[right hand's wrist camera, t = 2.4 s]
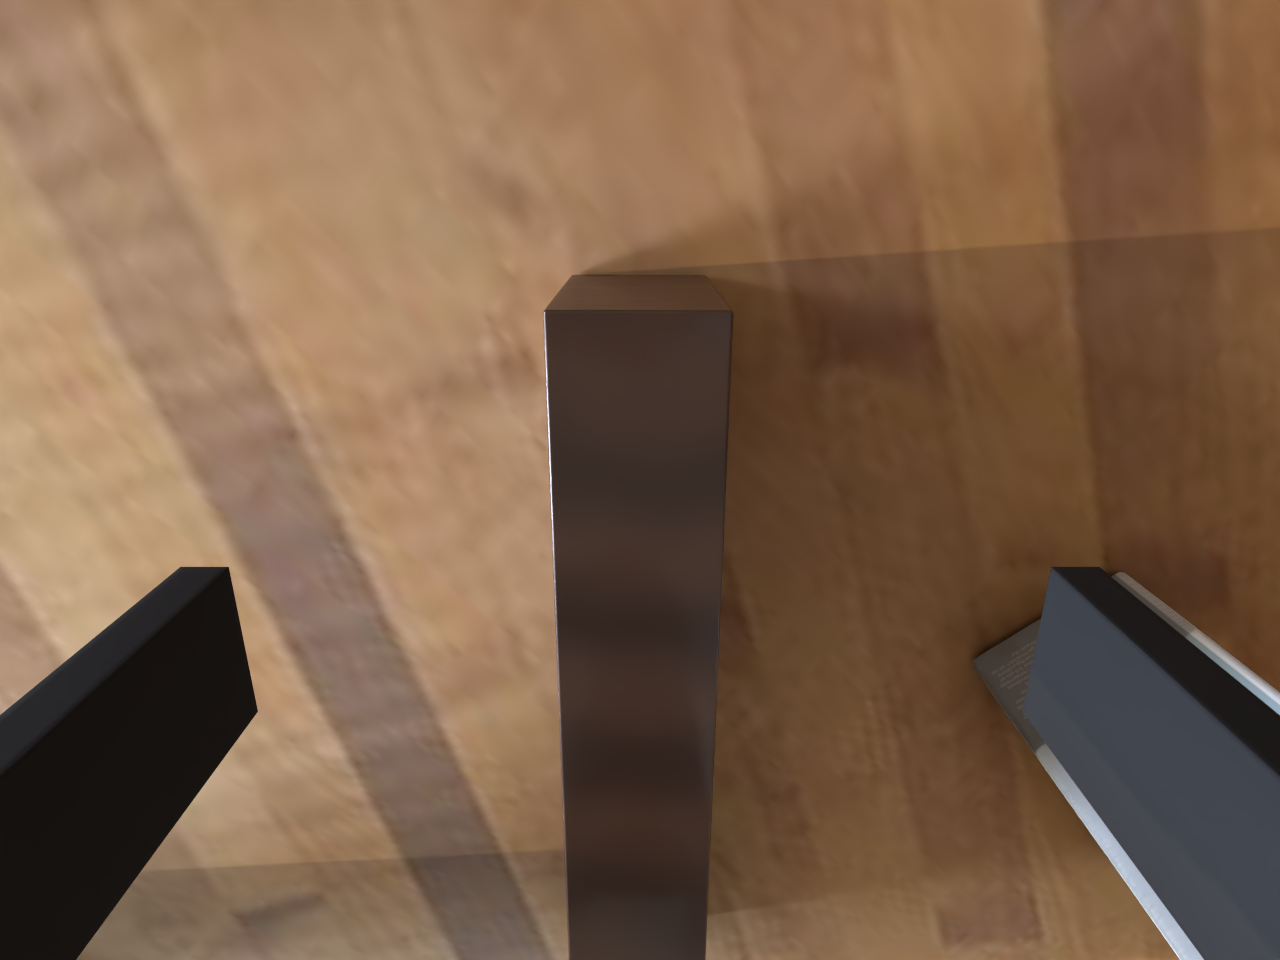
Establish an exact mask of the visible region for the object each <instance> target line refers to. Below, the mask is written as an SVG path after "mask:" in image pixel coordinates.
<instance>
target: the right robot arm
mask: <svg viewBox="0 0 1280 960" xmlns="http://www.w3.org/2000/svg"><path fill="white" fill-rule="evenodd" d="M257 712H258V710H257V705H256V700H255V695H254V690H253V685H252V681H251V676H250V671H249V666H248V661H247V656H246V651H245V646H244V641H243V636H242V631H241V626H240V621H239V616H238V611H237V606H236V601H235V596H234V591H233V586H232V581H231V577H230V572H229V567H180V568H179V569H178V570H176V571H175V572H174V573H173V574H172V575H170V576H169V577H168V578H167V579H165V580H164V581H163V582H162V583H161V584H159V585H158V586H157V587H156V588H154V589H153V590H152V591H151V592H150V593H148V594H147V595H146V596H145V597H144V598H142V599H141V600H140V601H139V602H137V603H136V604H135V605H134V606H133V607H131V608H130V609H129V610H128V611H126V612H125V613H124V614H123V615H122V616H120V617H119V618H118V619H117V620H116V621H114V622H113V623H112V624H111V625H109V626H108V627H107V628H106V629H105V630H103V631H102V632H101V633H100V634H98V635H97V636H96V637H95V638H94V639H92V640H91V641H90V642H89V643H88V644H86V645H85V646H84V647H83V648H81V649H80V650H79V651H78V652H77V653H75V654H74V655H73V656H72V657H70V658H69V659H68V660H67V661H66V662H64V663H63V664H62V665H61V666H60V667H58V668H57V669H56V670H55V671H53V672H52V673H51V674H50V675H49V676H47V677H46V678H45V679H44V680H42V681H41V682H40V683H39V684H38V685H36V686H35V687H34V688H33V689H32V690H30V691H29V692H28V693H27V694H25V695H24V696H23V697H22V698H21V699H19V700H18V701H17V702H16V703H14V704H13V705H12V706H11V707H10V708H8V709H7V710H6V711H5V712H4V713H2V714H1V715H0V960H76V959H77V958H78V956H79V955H80V954H81V952H82V951H83V949H84V948H85V947H86V945H87V944H88V943H89V941H90V940H91V939H92V937H93V936H94V934H95V933H96V932H97V930H98V929H99V928H100V926H101V925H102V923H103V922H104V921H105V919H106V918H107V917H108V915H109V914H110V913H111V911H112V910H113V908H114V907H115V906H116V904H117V903H118V902H119V900H120V899H121V898H122V896H123V895H124V893H125V892H126V891H127V889H128V888H129V887H130V885H131V884H132V883H133V881H134V880H135V878H136V877H137V876H138V874H139V873H140V872H141V870H142V869H143V868H144V866H145V865H146V863H147V862H148V861H149V859H150V858H151V857H152V855H153V854H154V852H155V851H156V850H157V848H158V847H159V846H160V844H161V843H162V842H163V840H164V839H165V837H166V836H167V835H168V833H169V832H170V831H171V829H172V828H173V827H174V825H175V824H176V822H177V821H178V820H179V818H180V817H181V816H182V814H183V813H184V812H185V810H186V809H187V807H188V806H189V805H190V803H191V802H192V801H193V799H194V798H195V797H196V795H197V794H198V792H199V791H200V790H201V788H202V787H203V786H204V784H205V783H206V781H207V780H208V779H209V777H210V776H211V775H212V773H213V772H214V771H215V769H216V768H217V766H218V765H219V764H220V762H221V761H222V760H223V758H224V757H225V756H226V754H227V753H228V751H229V750H230V749H231V747H232V746H233V745H234V743H235V742H236V741H237V739H238V738H239V736H240V735H241V734H242V732H243V731H244V730H245V728H246V727H247V726H248V724H249V723H250V721H251V720H252V719H253V717H254V716H255V715H256V713H257ZM1022 712H1023V713H1024V715H1025V716H1026V717H1027V719H1028V720H1029V721H1030V723H1031V724H1032V726H1033V727H1034V728H1035V730H1036V731H1037V732H1038V734H1039V735H1040V736H1041V738H1042V739H1043V741H1044V742H1045V743H1046V745H1047V746H1048V747H1049V749H1050V750H1051V751H1052V753H1053V754H1054V756H1055V757H1056V758H1057V760H1058V761H1059V762H1060V764H1061V765H1062V766H1063V768H1064V769H1065V771H1066V772H1067V773H1068V775H1069V776H1070V777H1071V779H1072V780H1073V781H1074V783H1075V784H1076V786H1077V787H1078V788H1079V790H1080V791H1081V792H1082V794H1083V795H1084V797H1085V798H1086V799H1087V801H1088V802H1089V803H1090V805H1091V806H1092V807H1093V809H1094V810H1095V812H1096V813H1097V814H1098V816H1099V817H1100V818H1101V820H1102V821H1103V822H1104V824H1105V825H1106V827H1107V828H1108V829H1109V831H1110V832H1111V833H1112V835H1113V836H1114V837H1115V839H1116V840H1117V842H1118V843H1119V844H1120V846H1121V847H1122V848H1123V850H1124V851H1125V852H1126V854H1127V855H1128V857H1129V858H1130V859H1131V861H1132V862H1133V863H1134V865H1135V866H1136V868H1137V869H1138V870H1139V872H1140V873H1141V874H1142V876H1143V877H1144V878H1145V880H1146V881H1147V883H1148V884H1149V885H1150V887H1151V888H1152V889H1153V891H1154V892H1155V893H1156V895H1157V896H1158V898H1159V899H1160V900H1161V902H1162V903H1163V904H1164V906H1165V907H1166V908H1167V910H1168V911H1169V913H1170V914H1171V915H1172V917H1173V918H1174V919H1175V921H1176V922H1177V923H1178V925H1179V926H1180V928H1181V929H1182V930H1183V932H1184V933H1185V934H1186V936H1187V937H1188V939H1189V940H1190V941H1191V943H1192V944H1193V945H1194V947H1195V948H1196V949H1197V951H1198V952H1199V954H1200V955H1201V956H1202V958H1203V959H1204V960H1280V715H1279V714H1278V713H1276V712H1275V711H1274V710H1273V709H1272V708H1270V707H1269V706H1268V705H1267V704H1265V703H1264V702H1263V701H1262V700H1261V699H1259V698H1258V697H1257V696H1256V695H1255V694H1253V693H1252V692H1251V691H1250V690H1248V689H1247V688H1246V687H1245V686H1244V685H1242V684H1241V683H1240V682H1239V681H1238V680H1236V679H1235V678H1234V677H1233V676H1231V675H1230V674H1229V673H1228V672H1227V671H1225V670H1224V669H1223V668H1222V667H1220V666H1219V665H1218V664H1217V663H1216V662H1214V661H1213V660H1212V659H1211V658H1210V657H1208V656H1207V655H1206V654H1205V653H1203V652H1202V651H1201V650H1200V649H1199V648H1197V647H1196V646H1195V645H1194V644H1192V643H1191V642H1190V641H1189V640H1188V639H1186V638H1185V637H1184V636H1183V635H1182V634H1180V633H1179V632H1178V631H1177V630H1175V629H1174V628H1173V627H1172V626H1171V625H1169V624H1168V623H1167V622H1166V621H1164V620H1163V619H1162V618H1161V617H1160V616H1158V615H1157V614H1156V613H1155V612H1154V611H1152V610H1151V609H1150V608H1149V607H1147V606H1146V605H1145V604H1144V603H1143V602H1141V601H1140V600H1139V599H1138V598H1136V597H1135V596H1134V595H1133V594H1132V593H1130V592H1129V591H1128V590H1127V589H1126V588H1124V587H1123V586H1122V585H1121V584H1119V583H1118V582H1117V581H1116V580H1115V579H1113V578H1112V577H1111V576H1110V575H1108V574H1107V573H1106V572H1105V571H1104V570H1102V569H1101V568H1100V567H1051V572H1050V576H1049V581H1048V586H1047V591H1046V596H1045V601H1044V606H1043V611H1042V616H1041V621H1040V626H1039V631H1038V636H1037V641H1036V646H1035V651H1034V656H1033V661H1032V666H1031V671H1030V676H1029V681H1028V685H1027V690H1026V695H1025V700H1024V705H1023V710H1022Z"/></svg>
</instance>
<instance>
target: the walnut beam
mask: <svg viewBox="0 0 1280 960" xmlns="http://www.w3.org/2000/svg"><path fill="white" fill-rule="evenodd" d="M543 321H544V347H545V372H546V397H547V422H548V447H549V472H550V497H551V523H552V548H553V573H554V598H555V623H556V648H557V673H558V699H559V724H560V749H561V774H562V799H563V824H564V849H565V875H566V900H567V925H568V950H569V960H705V956H706V933H707V910H708V887H709V863H710V840H711V817H712V794H713V771H714V748H715V725H716V702H717V679H718V655H719V632H720V609H721V586H722V563H723V540H724V517H725V494H726V471H727V447H728V424H729V401H730V378H731V355H732V332H733V311H732V310H731V309H730V307H729V306H728V305H727V303H726V302H725V301H724V299H723V298H722V297H721V295H720V294H719V293H718V291H717V290H716V289H715V288H714V286H713V285H712V284H711V282H710V281H709V280H708V278H707V277H706V276H704V275H572V276H571V277H570V278H569V280H568V281H567V282H566V283H565V285H564V286H563V287H562V289H561V290H560V291H559V292H558V294H557V295H556V296H555V297H554V299H553V300H552V301H551V302H550V304H549V305H548V306H547V307H546V309H545V310H544V312H543Z"/></svg>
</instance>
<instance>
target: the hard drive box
mask: <svg viewBox="0 0 1280 960" xmlns="http://www.w3.org/2000/svg"><path fill="white" fill-rule="evenodd" d="M1111 577H1112V578H1113V579H1115V580H1116V581H1117V582H1118V583H1119V584H1121V585H1122V586H1123V587H1124V588H1126V589H1127V590H1128V591H1129V592H1130V593H1132V594H1133V595H1134V596H1135V597H1136V598H1138V599H1139V600H1140V601H1141V602H1143V603H1144V604H1145V605H1146V606H1147V607H1149V608H1150V609H1151V610H1152V611H1154V612H1155V613H1156V614H1157V615H1158V616H1160V617H1161V618H1162V619H1163V620H1164V621H1166V622H1167V623H1168V624H1169V625H1171V626H1172V627H1173V628H1174V629H1175V630H1177V631H1178V632H1179V633H1180V634H1182V635H1183V636H1184V637H1185V638H1186V639H1188V640H1189V641H1190V642H1191V643H1192V644H1194V645H1195V646H1196V647H1197V648H1199V649H1200V650H1201V651H1202V652H1203V653H1205V654H1206V655H1207V656H1208V657H1210V658H1211V659H1212V660H1213V661H1214V662H1216V663H1217V664H1218V665H1219V666H1220V667H1222V668H1223V669H1224V670H1225V671H1227V672H1228V673H1229V674H1230V675H1231V676H1233V677H1234V678H1235V679H1236V680H1238V681H1239V682H1240V683H1241V684H1242V685H1244V686H1245V687H1246V688H1247V689H1248V690H1250V691H1251V692H1252V693H1253V694H1255V695H1256V696H1257V697H1258V698H1259V699H1261V700H1262V701H1263V702H1264V703H1265V704H1267V705H1268V706H1269V707H1270V708H1272V709H1273V710H1274V711H1275V712H1276V713H1278V714H1279V715H1280V692H1279V691H1277V690H1276V689H1275V688H1273V687H1272V686H1271V685H1270V684H1268V683H1267V682H1266V681H1264V680H1263V679H1262V678H1261V677H1259V676H1258V675H1257V674H1255V673H1254V672H1253V671H1251V670H1250V669H1249V668H1248V667H1246V666H1245V665H1244V664H1242V663H1241V662H1240V661H1239V660H1237V659H1236V658H1235V657H1233V656H1232V655H1231V654H1230V653H1228V652H1227V651H1226V650H1224V649H1223V648H1222V647H1221V646H1219V645H1218V644H1217V643H1216V642H1214V641H1213V640H1212V639H1210V638H1209V637H1208V636H1206V635H1205V634H1204V633H1203V632H1201V631H1200V630H1199V629H1197V628H1196V627H1195V626H1193V625H1192V624H1191V623H1190V622H1188V621H1187V620H1186V619H1184V618H1183V617H1182V616H1180V615H1179V614H1178V613H1177V612H1175V611H1174V610H1173V609H1171V608H1170V607H1169V606H1167V605H1166V604H1165V603H1164V602H1162V601H1161V600H1160V599H1158V598H1157V597H1156V596H1154V595H1153V594H1152V593H1150V592H1149V591H1148V590H1146V589H1145V588H1144V587H1143V586H1141V585H1140V584H1139V583H1137V582H1136V581H1135V580H1134V579H1132V578H1131V577H1130V576H1128V575H1127V574H1125V573H1124V572H1118V573H1116V574H1114V575H1113V576H1111ZM1040 621H1041V619H1039V620H1037V621H1036V622H1034V623H1032V624H1031V625H1029V626H1027V627H1026V628H1024V629H1022V630H1021V631H1019V632H1017V633H1016V634H1014V635H1013V636H1011V637H1009V638H1008V639H1006V640H1005V641H1003V642H1001V643H1000V644H998V645H996V646H995V647H993V648H991V649H990V650H988V651H986V652H985V653H983V654H981V655H980V656H978V657H977V658H976V659H974V660H973V665H974V667H975V669H976V670H977V672H978V674H979V675H980V677H981V679H982V680H983V682H984V683H985V685H986V686H987V687H988V689H989V690H990V692H991V693H992V695H993V696H994V698H995V699H996V700H997V702H998V703H999V705H1000V706H1001V708H1002V709H1003V711H1004V712H1005V713H1006V715H1007V716H1008V718H1009V719H1010V720H1011V722H1012V723H1013V725H1014V726H1015V727H1016V729H1017V730H1018V732H1019V733H1020V734H1021V736H1022V737H1023V739H1024V740H1025V741H1026V743H1027V744H1028V746H1029V747H1030V749H1031V750H1032V751H1033V753H1034V754H1035V756H1036V757H1037V758H1038V760H1039V761H1040V763H1041V764H1042V765H1043V767H1044V768H1045V770H1046V771H1047V772H1048V774H1049V775H1050V777H1051V778H1052V780H1053V781H1054V782H1055V784H1056V785H1057V787H1058V788H1059V789H1060V791H1061V792H1062V794H1063V795H1064V796H1065V798H1066V799H1067V801H1068V802H1069V803H1070V805H1071V806H1072V808H1073V809H1074V810H1075V812H1076V813H1077V815H1078V816H1079V818H1080V819H1081V820H1082V822H1083V823H1084V825H1085V826H1086V827H1087V829H1088V830H1089V832H1090V833H1091V834H1092V836H1093V837H1094V839H1095V840H1096V841H1097V843H1098V844H1099V846H1100V847H1101V848H1102V850H1103V851H1104V853H1105V854H1106V855H1107V857H1108V858H1109V860H1110V861H1111V862H1112V864H1113V865H1114V867H1115V868H1116V869H1117V871H1118V872H1119V874H1120V875H1121V877H1122V878H1123V879H1124V881H1125V882H1126V884H1127V885H1128V886H1129V888H1130V889H1131V891H1132V892H1133V894H1134V895H1135V896H1136V898H1137V899H1138V901H1139V902H1140V903H1141V905H1142V906H1143V908H1144V909H1145V911H1146V912H1147V913H1148V915H1149V916H1150V918H1151V919H1152V920H1153V922H1154V923H1155V925H1156V926H1157V927H1158V929H1159V930H1160V932H1161V933H1162V935H1163V936H1164V937H1165V939H1166V940H1167V942H1168V943H1169V945H1170V946H1171V947H1172V949H1173V950H1174V952H1175V953H1176V954H1177V956H1178V957H1179V959H1180V960H1204V959H1203V958H1202V956H1201V955H1200V954H1199V952H1198V951H1197V949H1196V948H1195V947H1194V945H1193V944H1192V943H1191V941H1190V940H1189V939H1188V937H1187V936H1186V934H1185V933H1184V932H1183V930H1182V929H1181V928H1180V926H1179V925H1178V923H1177V922H1176V921H1175V919H1174V918H1173V917H1172V915H1171V914H1170V913H1169V911H1168V910H1167V908H1166V907H1165V906H1164V904H1163V903H1162V902H1161V900H1160V899H1159V898H1158V896H1157V895H1156V893H1155V892H1154V891H1153V889H1152V888H1151V887H1150V885H1149V884H1148V883H1147V881H1146V880H1145V878H1144V877H1143V876H1142V874H1141V873H1140V872H1139V870H1138V869H1137V868H1136V866H1135V865H1134V863H1133V862H1132V861H1131V859H1130V858H1129V857H1128V855H1127V854H1126V852H1125V851H1124V850H1123V848H1122V847H1121V846H1120V844H1119V843H1118V842H1117V840H1116V839H1115V837H1114V836H1113V835H1112V833H1111V832H1110V831H1109V829H1108V828H1107V827H1106V825H1105V824H1104V822H1103V821H1102V820H1101V818H1100V817H1099V816H1098V814H1097V813H1096V812H1095V810H1094V809H1093V807H1092V806H1091V805H1090V803H1089V802H1088V801H1087V799H1086V798H1085V797H1084V795H1083V794H1082V792H1081V791H1080V790H1079V788H1078V787H1077V786H1076V784H1075V783H1074V781H1073V780H1072V779H1071V777H1070V776H1069V775H1068V773H1067V772H1066V771H1065V769H1064V768H1063V766H1062V765H1061V764H1060V762H1059V761H1058V760H1057V758H1056V757H1055V756H1054V754H1053V753H1052V751H1051V750H1050V749H1049V747H1048V746H1047V745H1046V743H1045V742H1044V741H1043V739H1042V738H1041V736H1040V735H1039V734H1038V732H1037V731H1036V730H1035V728H1034V727H1033V726H1032V724H1031V723H1030V721H1029V720H1028V719H1027V717H1026V716H1025V715H1024V713H1023V712H1022V710H1023V705H1024V700H1025V695H1026V690H1027V685H1028V681H1029V676H1030V671H1031V666H1032V661H1033V656H1034V651H1035V646H1036V641H1037V636H1038V631H1039V626H1040Z"/></svg>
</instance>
